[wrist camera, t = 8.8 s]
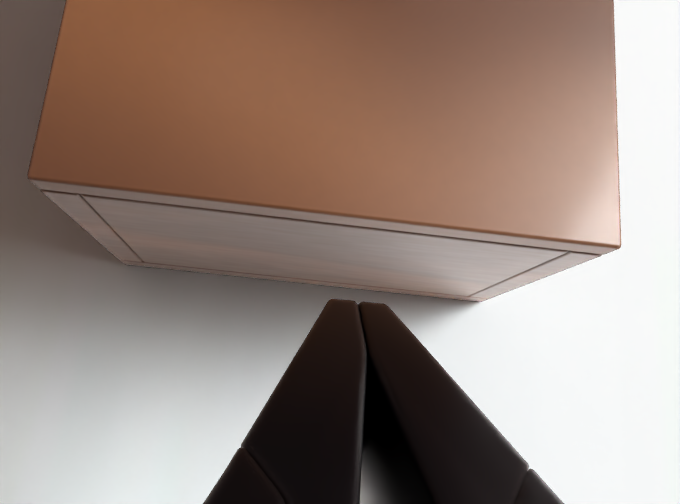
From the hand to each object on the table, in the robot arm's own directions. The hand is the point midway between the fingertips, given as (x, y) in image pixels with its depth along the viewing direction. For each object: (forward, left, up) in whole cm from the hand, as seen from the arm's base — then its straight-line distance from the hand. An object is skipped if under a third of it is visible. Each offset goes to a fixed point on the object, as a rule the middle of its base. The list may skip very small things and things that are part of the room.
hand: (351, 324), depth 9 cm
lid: (+7, -7, -4) cm, 10 cm away
